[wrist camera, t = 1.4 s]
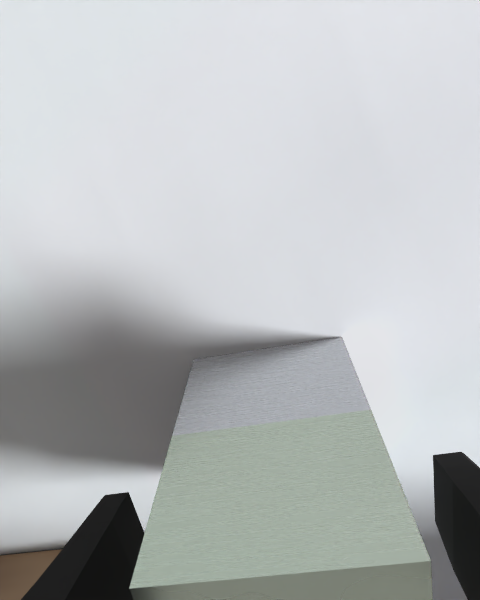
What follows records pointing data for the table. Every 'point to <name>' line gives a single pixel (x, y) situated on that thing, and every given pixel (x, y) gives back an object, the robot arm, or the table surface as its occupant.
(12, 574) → the walnut stand
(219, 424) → the block
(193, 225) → the table surface
